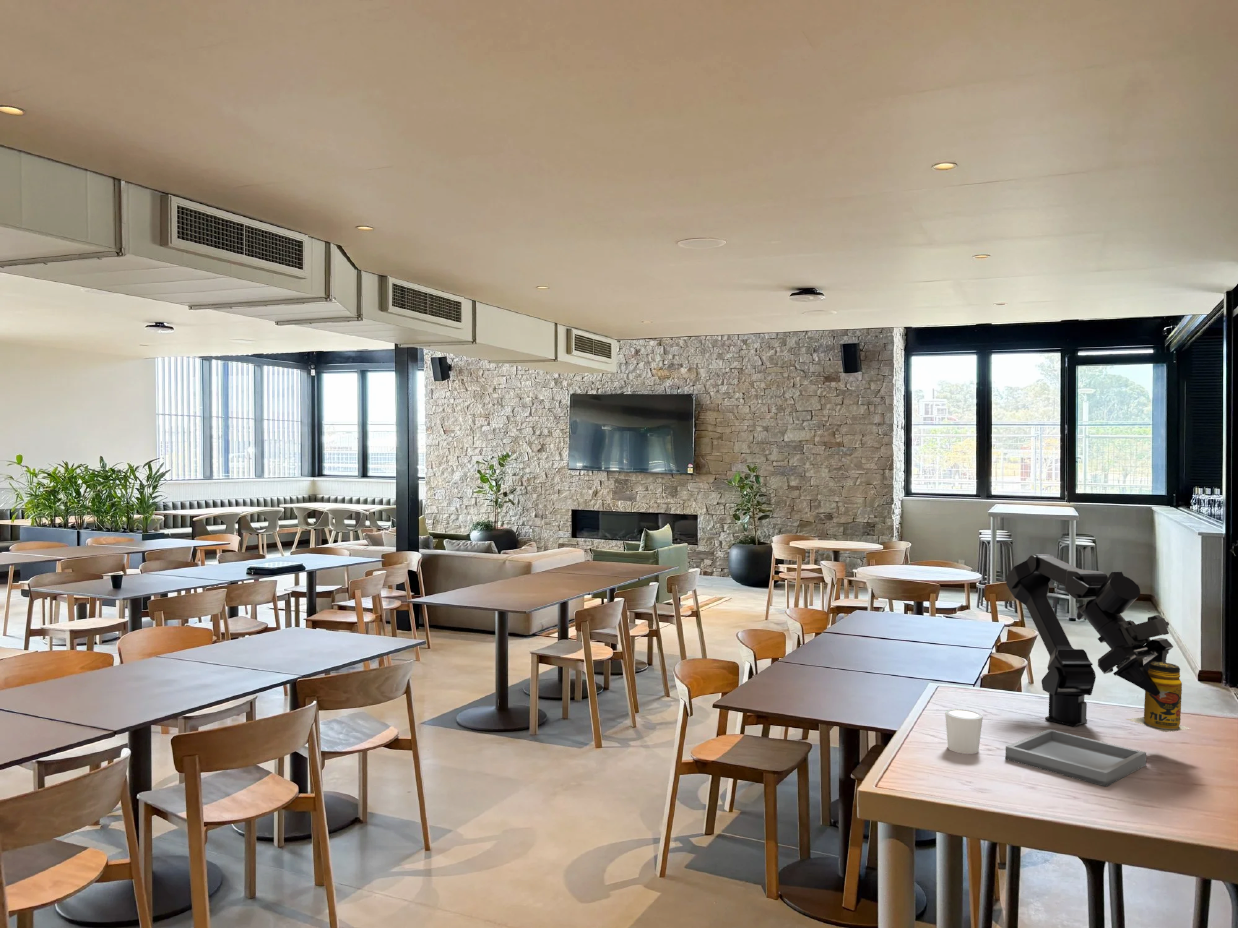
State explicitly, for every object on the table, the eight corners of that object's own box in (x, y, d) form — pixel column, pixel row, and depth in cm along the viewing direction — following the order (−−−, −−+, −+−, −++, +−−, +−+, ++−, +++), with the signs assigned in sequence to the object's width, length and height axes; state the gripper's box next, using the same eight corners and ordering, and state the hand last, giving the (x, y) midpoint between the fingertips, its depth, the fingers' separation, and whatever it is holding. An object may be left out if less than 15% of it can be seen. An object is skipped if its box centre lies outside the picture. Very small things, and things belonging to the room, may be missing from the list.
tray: (1005, 758, 171) (1005, 746, 171) (1048, 740, 183) (1049, 728, 183) (1105, 786, 157) (1106, 772, 157) (1145, 765, 169) (1146, 752, 169)
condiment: (1165, 732, 170) (1168, 669, 170) (1124, 719, 178) (1127, 659, 178) (1191, 729, 173) (1194, 667, 173) (1150, 716, 181) (1153, 657, 181)
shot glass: (964, 756, 172) (965, 720, 172) (936, 746, 178) (937, 710, 178) (989, 751, 175) (990, 715, 175) (961, 741, 181) (962, 706, 181)
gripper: (1115, 605, 173) (1174, 675, 164) (1164, 598, 184) (1222, 663, 175) (1074, 638, 180) (1129, 707, 171) (1123, 629, 190) (1177, 694, 181)
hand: (1166, 692), depth 174 cm, fingers closed on condiment, 6 cm apart
